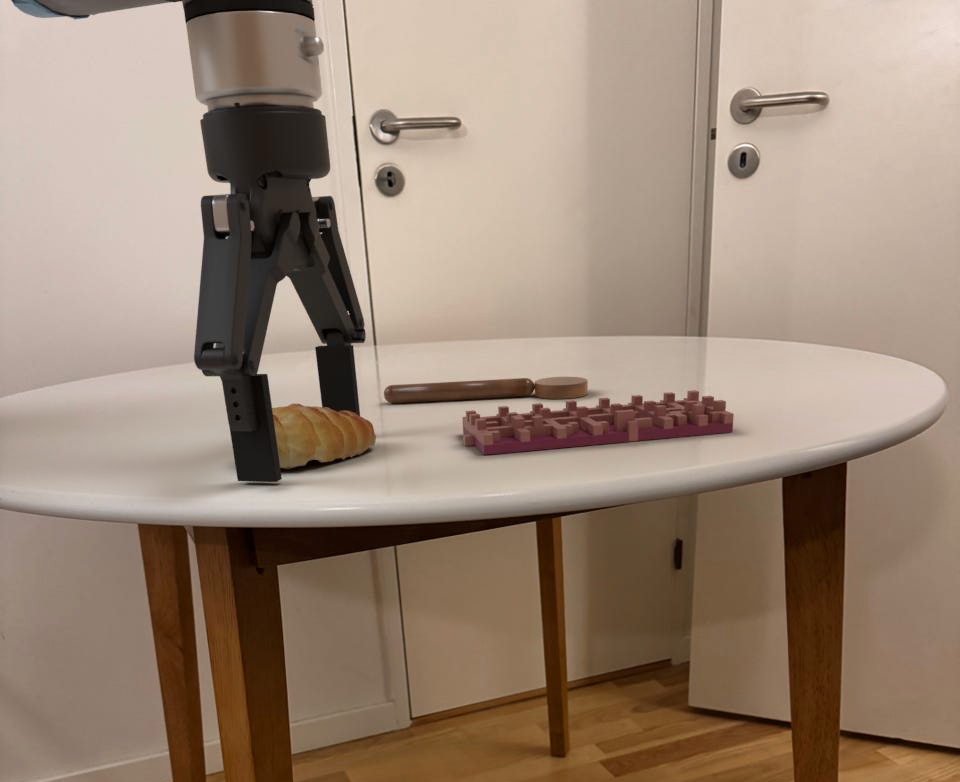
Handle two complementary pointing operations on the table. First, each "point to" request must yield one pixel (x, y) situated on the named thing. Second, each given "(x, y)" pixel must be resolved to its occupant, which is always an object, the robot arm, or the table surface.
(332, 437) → the pastry
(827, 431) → the table surface
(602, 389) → the table surface
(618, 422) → the pink studded slab
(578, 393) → the wooden spoon
